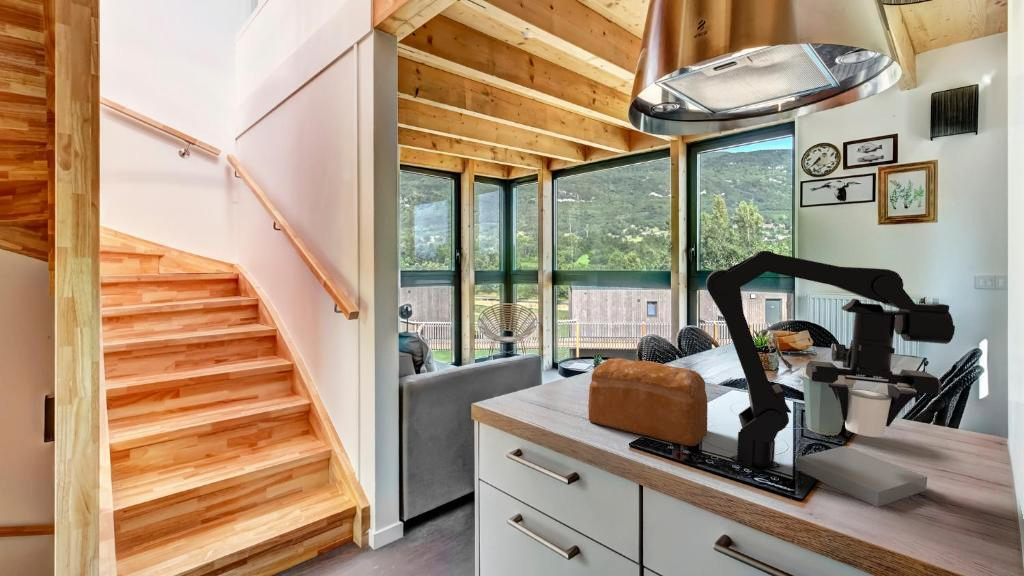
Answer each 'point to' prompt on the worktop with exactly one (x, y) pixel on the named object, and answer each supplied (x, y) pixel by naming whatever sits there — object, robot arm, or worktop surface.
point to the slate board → (862, 475)
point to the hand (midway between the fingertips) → (864, 422)
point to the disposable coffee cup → (822, 406)
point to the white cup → (867, 412)
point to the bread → (649, 400)
